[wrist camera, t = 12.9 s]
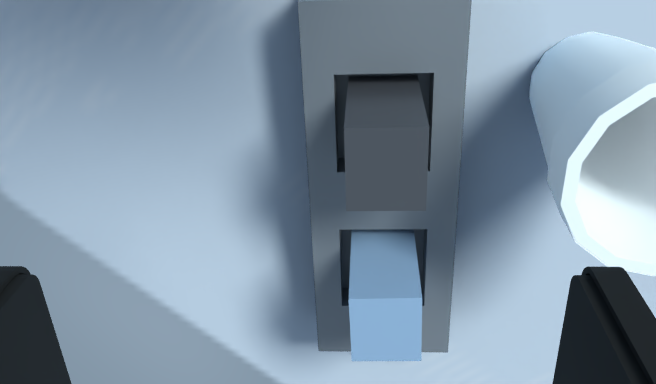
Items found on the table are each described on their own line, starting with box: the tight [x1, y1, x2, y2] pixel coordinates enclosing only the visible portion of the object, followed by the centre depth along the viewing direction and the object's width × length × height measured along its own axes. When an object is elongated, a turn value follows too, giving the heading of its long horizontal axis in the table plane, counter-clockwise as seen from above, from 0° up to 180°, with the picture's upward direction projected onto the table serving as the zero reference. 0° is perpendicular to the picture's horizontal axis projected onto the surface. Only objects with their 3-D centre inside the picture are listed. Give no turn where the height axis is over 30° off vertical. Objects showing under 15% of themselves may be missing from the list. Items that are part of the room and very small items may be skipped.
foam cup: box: [529, 31, 656, 276], centre depth 32 cm, size 10×9×13 cm
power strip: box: [298, 0, 471, 352], centre depth 35 cm, size 30×9×10 cm, turn 2°
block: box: [349, 229, 422, 361], centre depth 38 cm, size 4×4×8 cm
